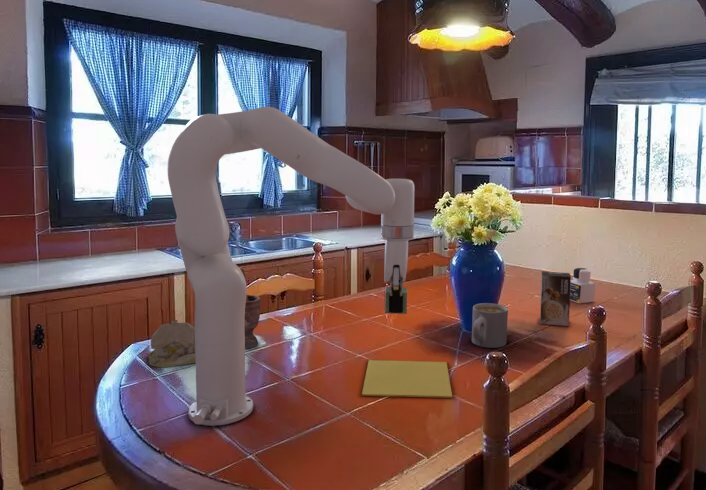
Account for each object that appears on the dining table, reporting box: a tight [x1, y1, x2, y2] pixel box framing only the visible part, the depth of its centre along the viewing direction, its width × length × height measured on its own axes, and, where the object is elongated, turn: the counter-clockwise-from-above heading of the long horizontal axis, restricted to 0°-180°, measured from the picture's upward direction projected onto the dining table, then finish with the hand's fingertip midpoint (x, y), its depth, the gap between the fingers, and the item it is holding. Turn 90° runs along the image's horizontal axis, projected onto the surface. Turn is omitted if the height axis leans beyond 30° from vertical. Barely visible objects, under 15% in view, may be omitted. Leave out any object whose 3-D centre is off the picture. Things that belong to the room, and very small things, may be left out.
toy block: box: [384, 286, 408, 315], centre depth 130 cm, size 5×5×5 cm
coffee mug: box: [471, 302, 509, 349], centre depth 158 cm, size 13×10×10 cm
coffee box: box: [539, 270, 572, 327], centre depth 179 cm, size 9×6×16 cm
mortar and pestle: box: [240, 268, 261, 350], centre depth 153 cm, size 12×9×20 cm
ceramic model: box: [147, 319, 196, 368], centre depth 141 cm, size 14×11×10 cm
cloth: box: [361, 359, 453, 399], centre depth 133 cm, size 20×20×1 cm
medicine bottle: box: [570, 267, 596, 304], centre depth 207 cm, size 7×7×12 cm
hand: (396, 308), depth 131 cm, fingers closed on toy block, 5 cm apart
